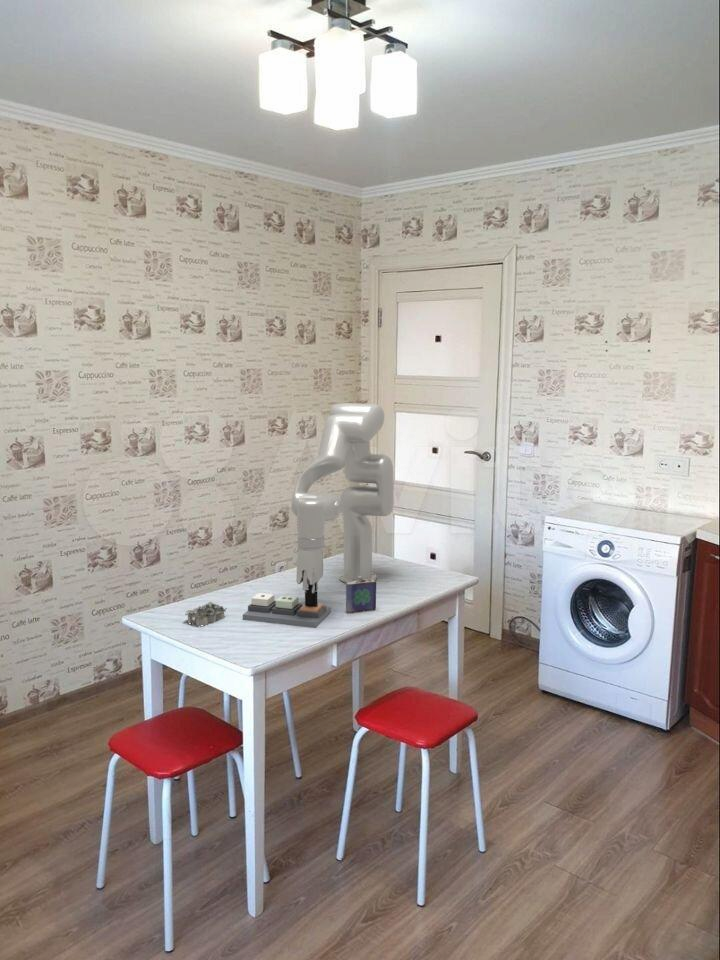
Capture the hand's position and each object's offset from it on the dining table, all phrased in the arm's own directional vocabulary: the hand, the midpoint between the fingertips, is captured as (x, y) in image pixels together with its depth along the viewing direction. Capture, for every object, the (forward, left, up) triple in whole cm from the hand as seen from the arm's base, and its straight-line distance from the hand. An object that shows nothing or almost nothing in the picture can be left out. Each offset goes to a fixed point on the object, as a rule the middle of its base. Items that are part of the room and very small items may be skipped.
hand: (311, 605), depth 215 cm
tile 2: (0, -7, -1) cm, 8 cm away
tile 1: (0, -15, -1) cm, 15 cm away
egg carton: (+9, -28, -5) cm, 30 cm away
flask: (-11, +12, -4) cm, 16 cm away
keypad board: (0, -7, -4) cm, 9 cm away
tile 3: (0, 0, -2) cm, 2 cm away
